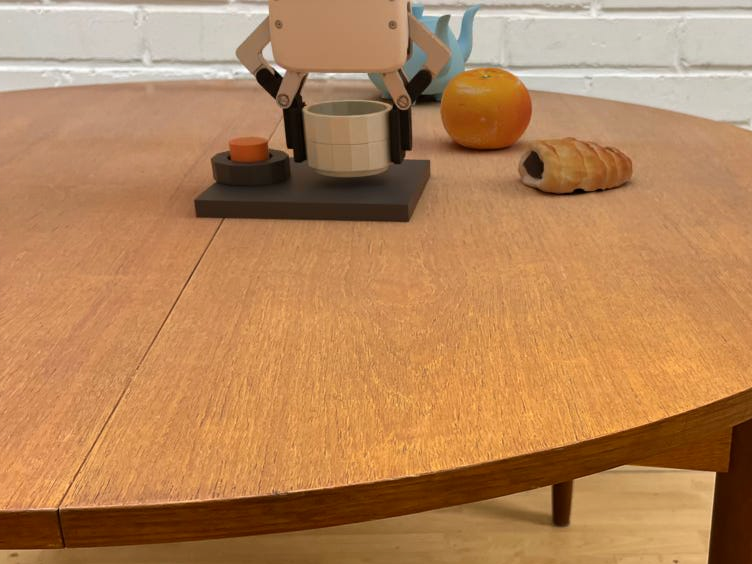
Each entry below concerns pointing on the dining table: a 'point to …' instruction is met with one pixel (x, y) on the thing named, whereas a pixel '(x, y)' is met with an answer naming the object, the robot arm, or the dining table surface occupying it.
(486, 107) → the fruit
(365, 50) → the robot arm
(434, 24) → the teapot
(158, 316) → the dining table surface
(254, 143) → the button
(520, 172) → the pastry
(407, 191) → the scale
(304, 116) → the bowl
